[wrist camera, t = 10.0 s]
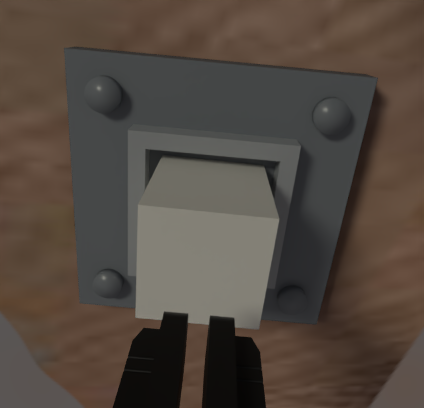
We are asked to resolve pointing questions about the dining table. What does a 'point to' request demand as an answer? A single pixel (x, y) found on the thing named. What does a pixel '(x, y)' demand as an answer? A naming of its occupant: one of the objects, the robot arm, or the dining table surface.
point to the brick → (205, 241)
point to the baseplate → (211, 158)
